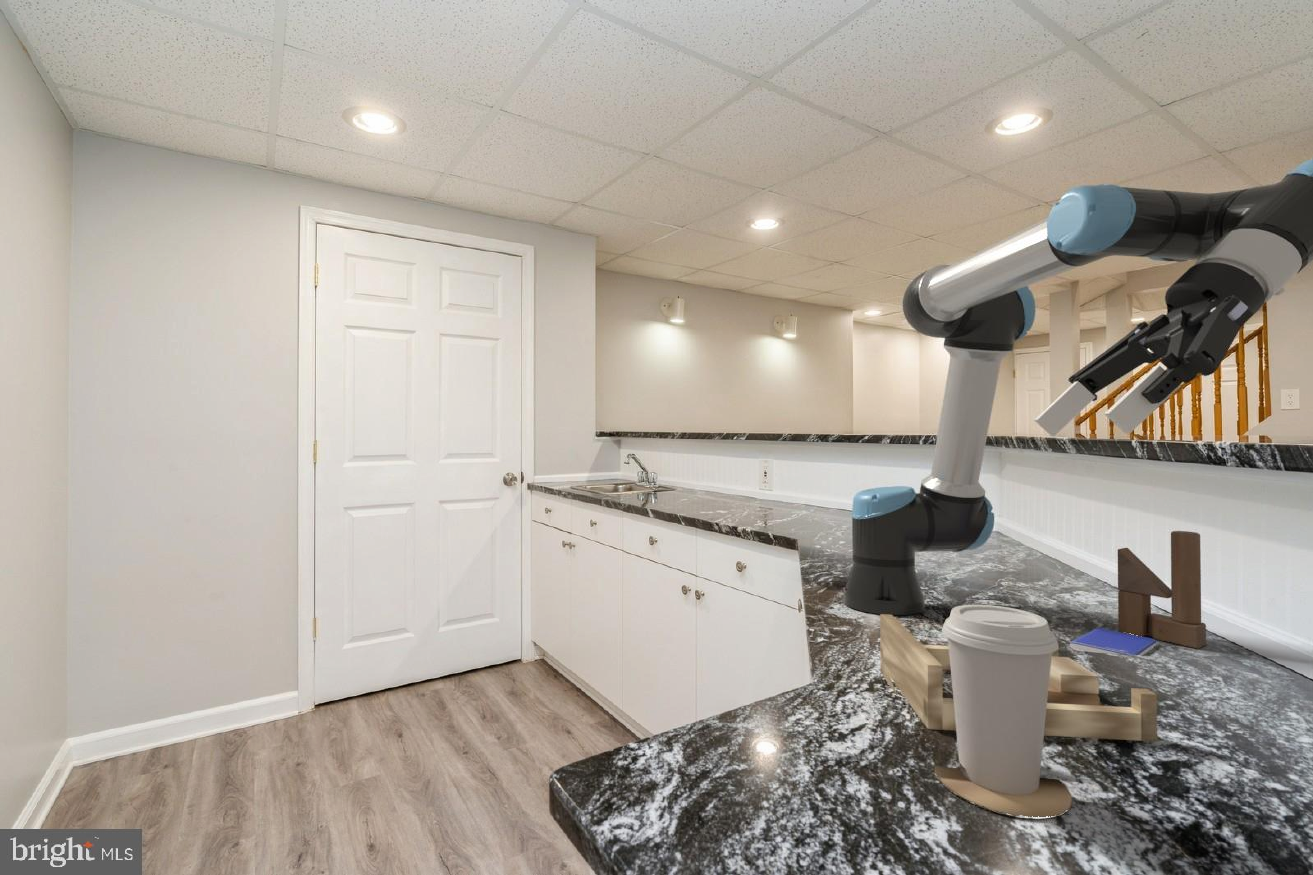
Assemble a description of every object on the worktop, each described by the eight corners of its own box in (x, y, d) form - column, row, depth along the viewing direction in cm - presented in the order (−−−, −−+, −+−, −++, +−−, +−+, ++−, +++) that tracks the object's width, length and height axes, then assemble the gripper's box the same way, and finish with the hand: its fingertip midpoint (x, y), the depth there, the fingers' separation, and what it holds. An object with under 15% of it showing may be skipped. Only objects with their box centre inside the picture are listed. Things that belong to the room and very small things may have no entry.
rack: (927, 740, 65) (927, 665, 65) (880, 671, 85) (880, 614, 85) (1157, 753, 62) (1156, 675, 62) (1052, 679, 82) (1052, 620, 82)
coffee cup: (939, 786, 55) (939, 621, 55) (944, 742, 64) (944, 598, 64) (1065, 817, 51) (1065, 636, 51) (1053, 764, 59) (1052, 610, 59)
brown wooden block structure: (1126, 628, 106) (1126, 525, 106) (1206, 646, 97) (1205, 532, 97) (1117, 632, 104) (1116, 526, 104) (1197, 650, 95) (1196, 534, 95)
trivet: (909, 770, 59) (909, 766, 59) (980, 744, 64) (980, 740, 64) (1024, 834, 49) (1024, 829, 49) (1097, 797, 54) (1097, 793, 54)
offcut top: (1060, 691, 70) (1060, 674, 70) (1033, 671, 76) (1033, 655, 76) (1098, 694, 69) (1098, 676, 69) (1068, 673, 76) (1068, 657, 76)
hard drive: (1133, 654, 89) (1156, 639, 97) (1069, 640, 96) (1095, 627, 103) (1133, 665, 89) (1156, 649, 97) (1069, 650, 96) (1095, 636, 103)
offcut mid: (1047, 708, 70) (1047, 690, 70) (1036, 684, 77) (1036, 668, 77) (1099, 716, 68) (1099, 698, 68) (1083, 690, 75) (1083, 674, 75)
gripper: (1382, 275, 52) (1191, 451, 53) (1169, 331, 76) (1043, 450, 78) (1311, 216, 52) (1125, 390, 54) (1123, 290, 77) (999, 409, 79)
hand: (1076, 426), depth 66 cm, fingers open, 13 cm apart
